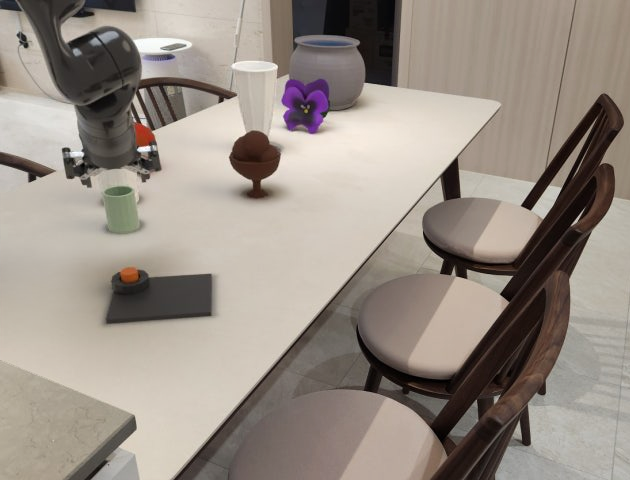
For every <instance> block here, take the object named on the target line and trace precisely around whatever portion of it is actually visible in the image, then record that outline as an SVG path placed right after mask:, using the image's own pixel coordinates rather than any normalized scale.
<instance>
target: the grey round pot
mask: <svg viewBox="0 0 630 480" xmlns="http://www.w3.org/2000/svg"><path fill="white" fill-rule="evenodd" d="M294 43H296V44H297V46H296V48H295V49H294V50H293V53H292V54H291V56H290V60H289V65H288V80H290V79H294V80H298V81H300V82H302V83H303V84H304V85H305V86H306V85H307V84H308V83H311V82H314V81H316V80H318V79H324V80H325V81H326V82H327V83H328V86H329V99H328V100H329V101H330V108H329V111H341V110H346V109H349V108H351V107H353V106H354V105H355V104H356V102H355V101H356V100H357V99H359V97H360V96H361V94H362V92H363V89H364V86H365V82H366V66H365V62H364V59H363V58H364V57H362V54H361V53H360V51H359V50H358V48H357V47H358V46H359V45H360V44H361V42H360V40H358V39H355V38H354V37H353V38H352V37H348V36H342V35H330V34H329V35H327V34H313V35H312V34H311V35H302V36H297V37H295V38H294Z"/></svg>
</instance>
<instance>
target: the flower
mask: <svg viewBox="0 0 630 480" xmlns="http://www.w3.org/2000/svg"><path fill="white" fill-rule="evenodd" d="M328 99H329V86H328V83H327V82H326V81H325V80H324V79H318V80H316V81H314V82H311V83H308V84H307V85H306V86H305V85H304V84H303V83H302V82H300V81H298V80H294V79H290V80H289V79H288V80H287V81H286V82H285V85H284V93H283V94H282V96H281V101H280V102H281V104H282V105H283V106H284V107H285V108H287V109H286V110H285V111H284V113H283V115H282V118H283V121H284V124H285V125H286V128H287V130H288V131H290V132H291V131H293V130H294V129H296V128H297V127H298V126H301V125H302V126H303V127H305V129H306V130H307V131H308V133H309V134H310V135H311V134H312V135H314V134H317V132H318V130H319V127H320V126H321V125H322V124H323V123H324V119H325V118H326V117H327V115H328V113H329V112H330V110H329V108H330V101H329V100H328Z"/></svg>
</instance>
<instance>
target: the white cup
mask: <svg viewBox="0 0 630 480" xmlns="http://www.w3.org/2000/svg"><path fill="white" fill-rule="evenodd" d="M96 177H97V181H98V185H99V189H100V192H101V193H102V192H103V190H105V189H106V188H109V187H113V186H130V187H132V188H133V189H134V190H135V197H136V203H137V204H138V202H139V201H140V196H139V179H138V172H136V173H134V172H132V171H130V170H127V169H111V170H106V171H104V170H103V171H102V172H100V173H99V174H98V175H96Z"/></svg>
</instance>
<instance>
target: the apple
mask: <svg viewBox="0 0 630 480" xmlns="http://www.w3.org/2000/svg"><path fill="white" fill-rule="evenodd" d="M134 124H135V130H136V144H137V145H138V146H139V147H146V146H149V142H150V141H156V142H157V140H156V135H155V134H154V133H153V132H152V130H151V129H150V128H149V127H147V126H146V125H144V124H142V123H139V122H134ZM142 156H144V157H146V156H145V155H142ZM146 158H148V157H146Z"/></svg>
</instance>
